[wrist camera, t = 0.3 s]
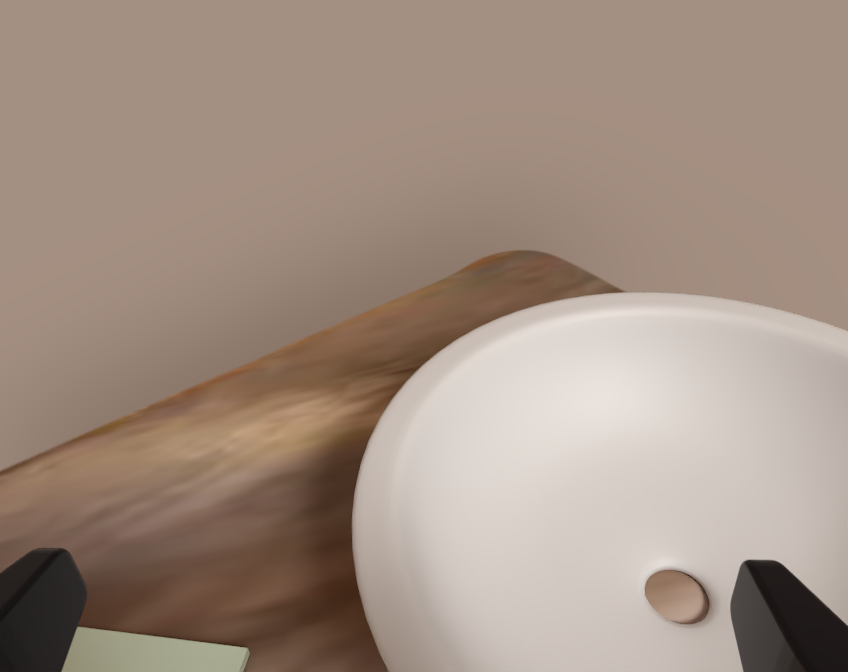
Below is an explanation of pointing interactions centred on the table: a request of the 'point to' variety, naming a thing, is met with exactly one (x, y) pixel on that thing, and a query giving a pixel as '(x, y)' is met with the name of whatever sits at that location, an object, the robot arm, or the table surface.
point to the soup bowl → (601, 484)
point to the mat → (148, 654)
